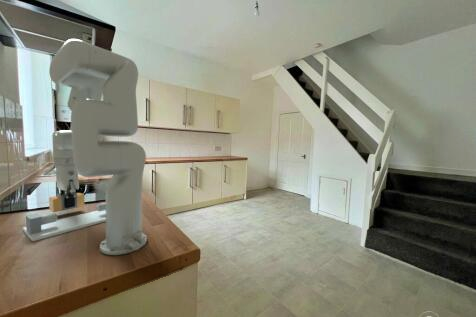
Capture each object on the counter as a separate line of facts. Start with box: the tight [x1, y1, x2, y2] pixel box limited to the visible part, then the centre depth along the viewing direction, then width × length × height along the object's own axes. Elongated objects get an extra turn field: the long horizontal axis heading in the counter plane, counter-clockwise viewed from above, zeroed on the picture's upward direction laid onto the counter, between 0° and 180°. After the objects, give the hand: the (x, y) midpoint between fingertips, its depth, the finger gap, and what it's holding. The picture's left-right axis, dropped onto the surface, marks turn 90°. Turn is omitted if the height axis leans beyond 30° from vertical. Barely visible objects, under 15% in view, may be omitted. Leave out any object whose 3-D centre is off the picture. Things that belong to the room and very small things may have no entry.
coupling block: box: [48, 192, 86, 213], centre depth 82 cm, size 5×10×6 cm, turn 146°
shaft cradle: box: [22, 202, 106, 242], centre depth 75 cm, size 12×27×6 cm, turn 146°
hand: (67, 205), depth 83 cm, fingers closed on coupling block, 5 cm apart
